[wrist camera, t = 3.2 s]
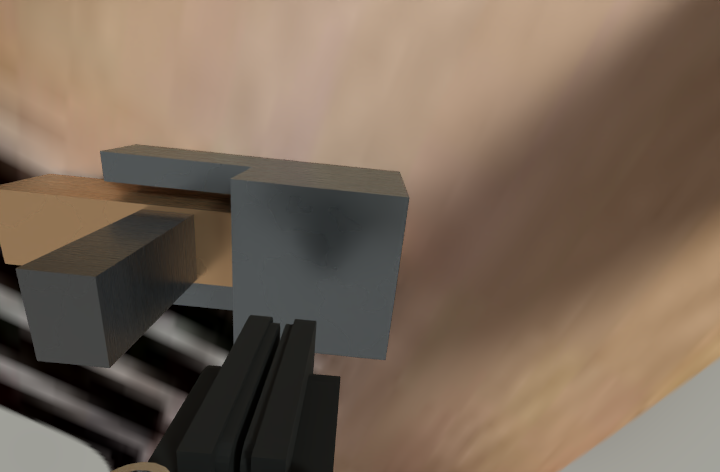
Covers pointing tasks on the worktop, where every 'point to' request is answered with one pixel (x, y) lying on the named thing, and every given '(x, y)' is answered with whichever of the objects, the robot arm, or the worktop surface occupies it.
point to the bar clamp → (293, 239)
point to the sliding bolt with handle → (107, 259)
